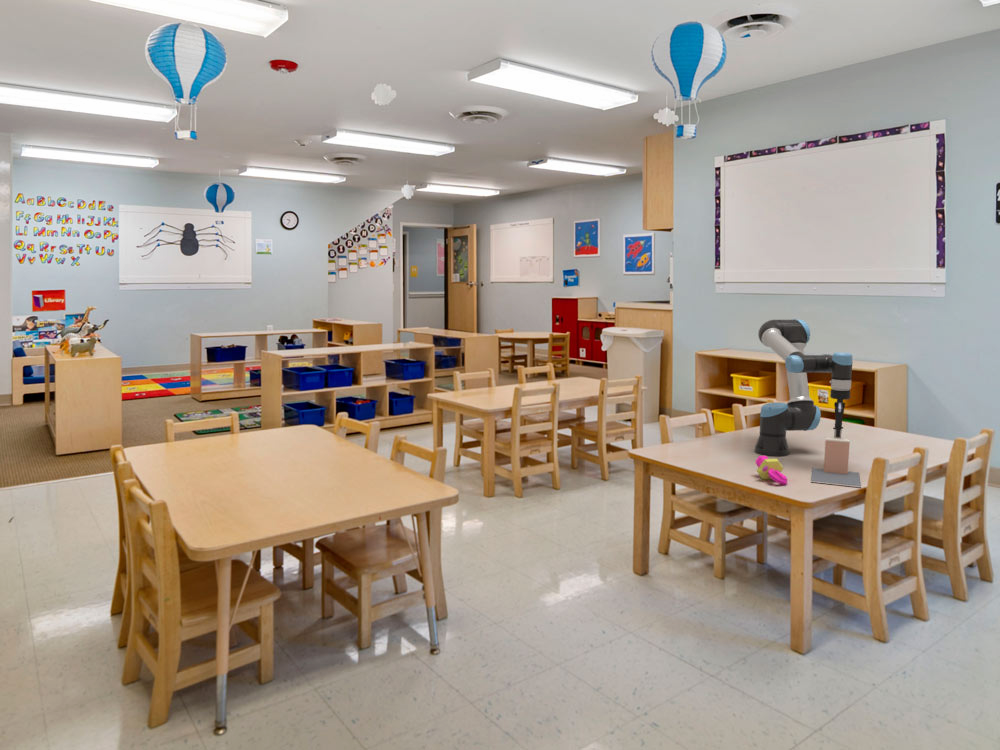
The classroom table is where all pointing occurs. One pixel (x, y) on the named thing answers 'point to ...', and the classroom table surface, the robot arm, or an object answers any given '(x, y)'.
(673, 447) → the classroom table surface
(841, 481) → the slate mat
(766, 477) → the toy
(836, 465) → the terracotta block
